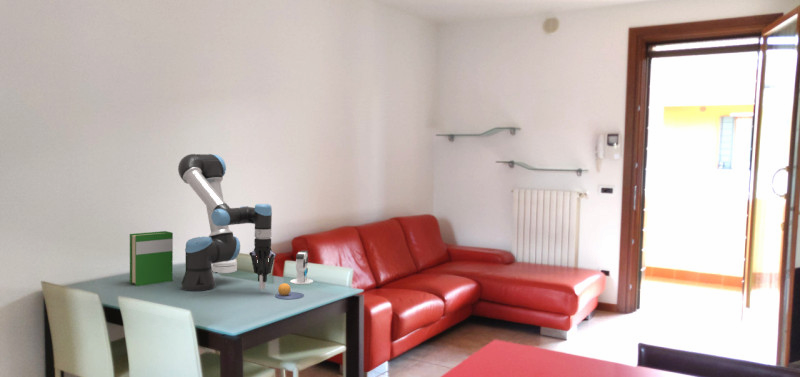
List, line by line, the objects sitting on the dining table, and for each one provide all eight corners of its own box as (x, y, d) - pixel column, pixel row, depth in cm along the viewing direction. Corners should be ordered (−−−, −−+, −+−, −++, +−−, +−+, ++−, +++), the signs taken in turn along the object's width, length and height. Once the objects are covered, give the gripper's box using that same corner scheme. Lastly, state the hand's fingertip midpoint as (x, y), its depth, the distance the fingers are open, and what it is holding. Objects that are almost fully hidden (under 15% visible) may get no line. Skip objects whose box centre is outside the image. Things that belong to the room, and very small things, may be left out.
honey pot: (241, 271, 314) (241, 238, 313) (219, 274, 304) (220, 240, 303) (229, 267, 322) (229, 235, 321) (207, 270, 313) (207, 237, 312)
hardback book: (136, 286, 273) (136, 235, 271) (129, 283, 278) (129, 233, 276) (172, 280, 286) (172, 232, 284) (165, 278, 291) (165, 231, 289)
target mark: (269, 297, 258) (269, 297, 258) (283, 291, 270) (283, 290, 270) (295, 300, 254) (295, 300, 254) (308, 294, 266) (308, 293, 266)
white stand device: (310, 284, 285) (310, 254, 284) (287, 284, 286) (288, 253, 285) (314, 279, 297) (315, 250, 296) (292, 278, 298) (293, 249, 297)
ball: (283, 299, 260) (274, 292, 261) (289, 296, 265) (280, 290, 267) (288, 288, 259) (278, 282, 260) (294, 286, 264) (285, 280, 266)
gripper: (245, 237, 263) (245, 289, 265) (271, 239, 259) (270, 291, 261) (254, 235, 271) (254, 285, 272) (279, 237, 267) (278, 288, 268)
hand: (262, 288), depth 266 cm, fingers closed
